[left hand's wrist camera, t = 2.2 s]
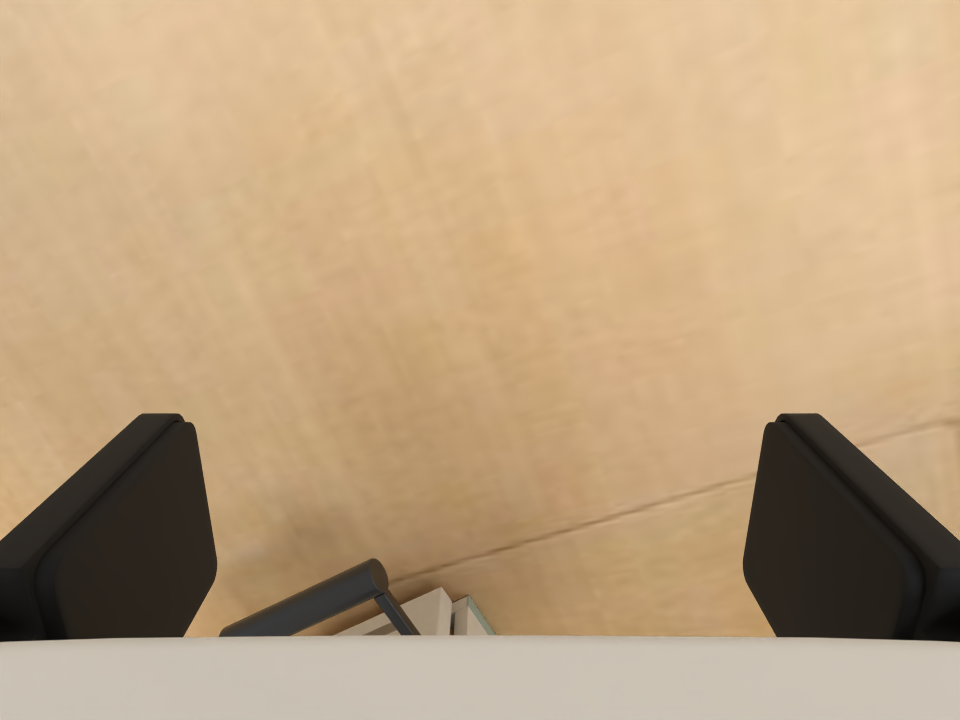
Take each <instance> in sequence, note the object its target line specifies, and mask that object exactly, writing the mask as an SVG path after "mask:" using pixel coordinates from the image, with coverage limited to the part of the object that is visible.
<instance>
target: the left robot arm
mask: <svg viewBox="0 0 960 720" xmlns="http://www.w3.org/2000/svg"><path fill="white" fill-rule="evenodd" d="M216 571H217V557H216V551H215V545H214V538H213V532H212V526H211V520H210V514H209V508H208V502H207V496H206V489H205V483H204V477H203V471H202V465H201V459H200V453H199V447H198V440H197V434H196V430H195V427H194V425H193V424H192V423H191V422H185V421H184V419H183V417H182V416H181V415H180V414H141V415H139V416H138V417H137V418H136V419H134V420H133V421H132V422H131V423H130V424H129V425H128V426H127V427H126V428H125V429H123V430H122V431H121V432H120V433H119V434H118V435H117V436H116V437H115V438H113V439H112V440H111V441H110V442H109V443H108V444H107V445H106V446H105V447H104V448H102V449H101V450H100V451H99V452H98V453H97V454H96V455H95V456H94V457H92V458H91V459H90V460H89V461H88V462H87V463H86V464H85V465H84V466H83V467H81V468H80V469H79V470H78V471H77V472H76V473H75V474H74V475H73V476H71V477H70V478H69V479H68V480H67V481H66V482H65V483H64V484H63V485H62V486H60V487H59V488H58V489H57V490H56V491H55V492H54V493H53V494H52V495H50V496H49V497H48V498H47V499H46V500H45V501H44V502H43V503H42V504H41V505H39V506H38V507H37V508H36V509H35V510H34V511H33V512H32V513H31V514H29V515H28V516H27V517H26V518H25V519H24V520H23V521H22V522H21V523H20V524H18V525H17V526H16V527H15V528H14V529H13V530H12V531H11V532H10V533H8V534H7V535H6V536H5V537H4V538H3V539H2V540H1V541H0V720H960V541H959V540H958V539H957V538H956V537H955V536H954V535H953V534H952V533H950V532H949V531H948V530H947V529H946V528H945V527H944V526H943V525H942V524H940V523H939V522H938V521H937V520H936V519H935V518H934V517H933V516H932V515H931V514H929V513H928V512H927V511H926V510H925V509H924V508H923V507H922V506H921V505H919V504H918V503H917V502H916V501H915V500H914V499H913V498H912V497H911V496H910V495H908V494H907V493H906V492H905V491H904V490H903V489H902V488H901V487H900V486H898V485H897V484H896V483H895V482H894V481H893V480H892V479H891V478H890V477H889V476H887V475H886V474H885V473H884V472H883V471H882V470H881V469H880V468H879V467H877V466H876V465H875V464H874V463H873V462H872V461H871V460H870V459H869V458H868V457H866V456H865V455H864V454H863V453H862V452H861V451H860V450H859V449H858V448H856V447H855V446H854V445H853V444H852V443H851V442H850V441H849V440H848V439H847V438H845V437H844V436H843V435H842V434H841V433H840V432H839V431H838V430H837V429H835V428H834V427H833V426H832V425H831V424H830V423H829V422H828V421H827V420H826V419H824V418H823V417H822V416H821V415H819V414H780V415H779V416H778V417H777V419H776V421H775V422H769V423H768V424H767V425H766V427H765V430H764V434H763V440H762V446H761V453H760V459H759V465H758V471H757V477H756V483H755V489H754V496H753V502H752V508H751V514H750V520H749V526H748V532H747V538H746V545H745V551H744V557H743V571H744V576H745V580H746V582H747V585H748V586H749V588H750V590H751V592H752V593H753V595H754V597H755V599H756V601H757V602H758V604H759V606H760V608H761V610H762V611H763V613H764V615H765V617H766V618H767V620H768V622H769V624H770V626H771V627H772V629H773V631H774V633H775V635H776V636H777V637H687V636H574V635H376V636H265V637H183V636H184V635H185V633H186V631H187V629H188V627H189V626H190V624H191V622H192V620H193V618H194V617H195V615H196V613H197V611H198V610H199V608H200V606H201V604H202V602H203V601H204V599H205V597H206V595H207V593H208V592H209V590H210V588H211V586H212V585H213V582H214V580H215V576H216Z"/></svg>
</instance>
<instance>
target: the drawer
mask: <svg viewBox="0 0 960 720" xmlns="http://www.w3.org/2000/svg"><path fill="white" fill-rule="evenodd" d="M372 598H374V599H375V601H376V602H377V603H378V605H379V606H380V608H381V609H382V610H383V612H384V613H382V614H380V615H377V616H375V617H373V618H371V619H369V620H366V621H364V622H362V623H360V624H357V625H355V626H353V627H351V628H349V629H346V630H344V631H342V632H340V633H337V634H335V635H333V636H376V635H454V630H453V629H451V630H450V622H451V608H452V601H451V600H450V598H449V597H448V595H447V594H446V592H445V591H444V589H443V588H442V587H440V588H437V589H435V590H433V591H431V592H428V593H426V594H424V595H422V596H420V597H417V598H415V599H413V600H411V601H408V602H406V603H404V604H402V605H399V604H398V602H397V601H396V599H395V598H394V597H393V595H392V594H391V592H390V591H389V590H388V577H387V574H386V571H385V569H384V567H383V566H382V564H381V563H380V562H379V561H378V560H377V559H370V560H368V561H366V562H363V563H361V564H359V565H357V566H355V567H353V568H351V569H348V570H346V571H344V572H342V573H340V574H338V575H336V576H334V577H331V578H329V579H327V580H325V581H323V582H321V583H319V584H316V585H314V586H312V587H310V588H308V589H306V590H304V591H302V592H299V593H297V594H295V595H293V596H291V597H289V598H287V599H284V600H282V601H280V602H278V603H276V604H274V605H272V606H270V607H267V608H265V609H263V610H261V611H259V612H257V613H255V614H252V615H250V616H248V617H246V618H244V619H242V620H240V621H238V622H235V623H233V624H231V625H229V626H227V627H225V628H224V629H223V630H222V631H221V633H220V635H219V637H265V636H291V635H293V634H295V633H298V632H300V631H302V630H304V629H306V628H309V627H311V626H313V625H315V624H317V623H320V622H322V621H324V620H326V619H328V618H330V617H333V616H335V615H337V614H339V613H341V612H344V611H346V610H348V609H350V608H352V607H355V606H357V605H359V604H361V603H363V602H365V601H368V600H370V599H372Z"/></svg>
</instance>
